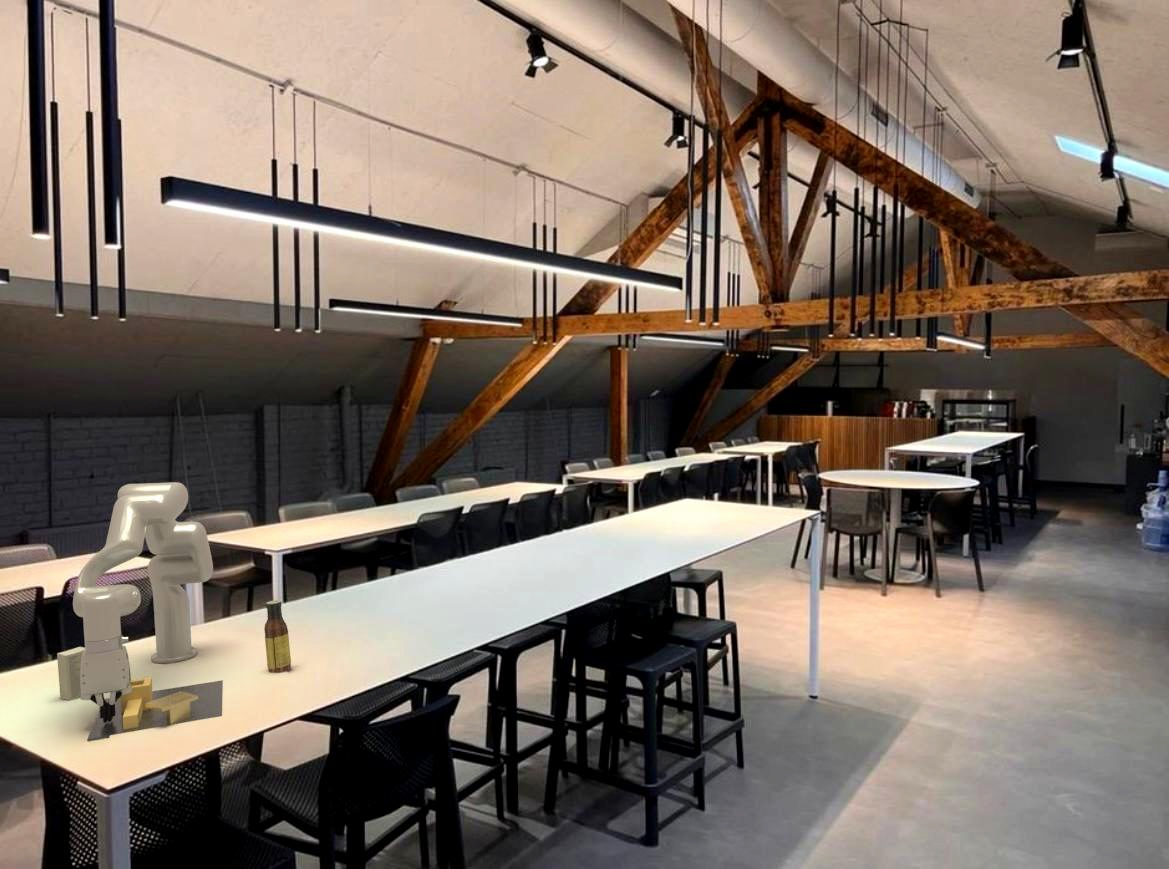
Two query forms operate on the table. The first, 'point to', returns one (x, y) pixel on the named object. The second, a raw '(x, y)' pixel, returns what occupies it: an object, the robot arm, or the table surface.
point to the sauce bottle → (276, 639)
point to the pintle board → (158, 717)
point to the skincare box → (70, 673)
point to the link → (136, 702)
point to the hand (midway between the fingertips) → (108, 720)
